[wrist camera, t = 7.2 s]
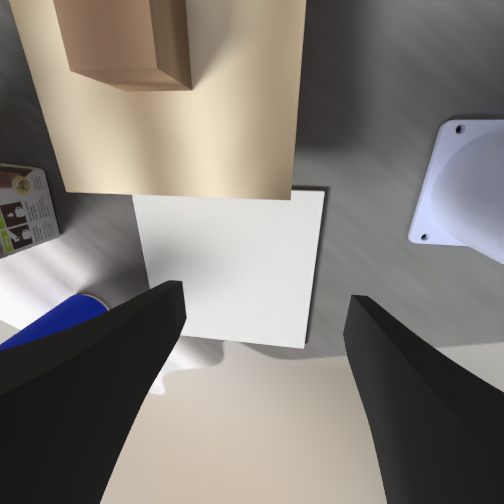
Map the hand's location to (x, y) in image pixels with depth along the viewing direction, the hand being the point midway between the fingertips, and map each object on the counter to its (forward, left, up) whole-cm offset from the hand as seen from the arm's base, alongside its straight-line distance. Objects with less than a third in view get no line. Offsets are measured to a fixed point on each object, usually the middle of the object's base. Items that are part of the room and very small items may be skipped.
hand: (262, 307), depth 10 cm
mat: (+4, +4, -10) cm, 11 cm away
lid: (+6, -11, -6) cm, 14 cm away
